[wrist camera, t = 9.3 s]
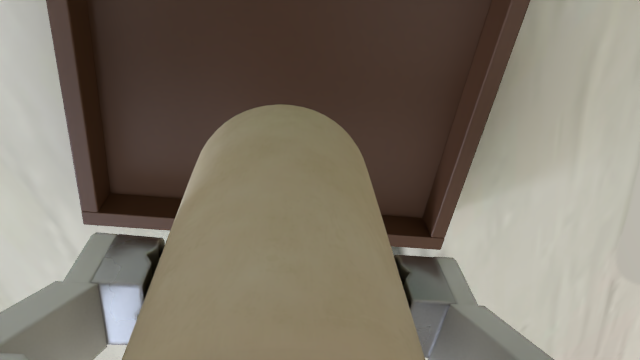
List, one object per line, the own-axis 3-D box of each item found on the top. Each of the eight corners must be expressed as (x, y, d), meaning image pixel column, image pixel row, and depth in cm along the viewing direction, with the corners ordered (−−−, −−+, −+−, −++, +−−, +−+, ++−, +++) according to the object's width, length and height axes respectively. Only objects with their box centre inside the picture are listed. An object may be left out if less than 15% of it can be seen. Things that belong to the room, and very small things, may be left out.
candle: (174, 114, 13) (-46, 500, 4) (360, 89, 13) (497, 433, 4) (218, 256, 16) (136, 656, 7) (370, 236, 16) (466, 616, 7)
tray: (58, -126, 17) (22, -131, 14) (517, -51, 19) (547, -46, 17) (102, 195, 24) (83, 224, 22) (428, 221, 26) (440, 250, 24)
